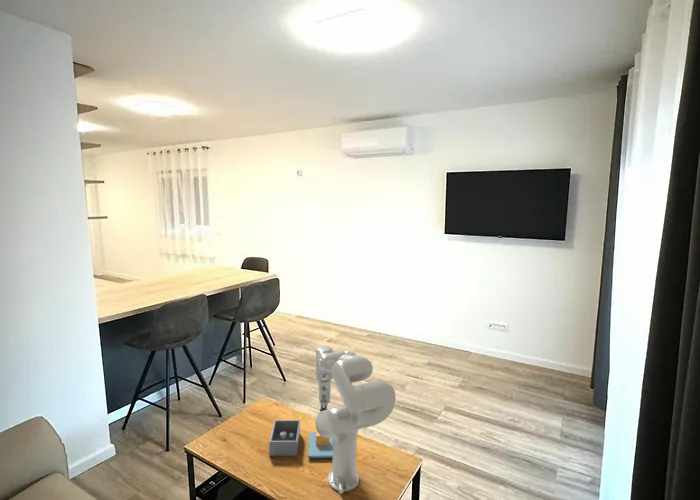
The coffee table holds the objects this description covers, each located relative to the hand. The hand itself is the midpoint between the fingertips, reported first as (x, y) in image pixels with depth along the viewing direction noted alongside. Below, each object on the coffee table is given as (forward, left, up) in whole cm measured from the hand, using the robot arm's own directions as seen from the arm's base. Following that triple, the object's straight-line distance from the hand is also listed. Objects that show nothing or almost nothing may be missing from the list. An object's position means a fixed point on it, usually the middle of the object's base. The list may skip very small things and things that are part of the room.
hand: (323, 411), depth 170 cm
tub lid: (+1, 0, -18) cm, 18 cm away
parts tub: (+3, +17, -18) cm, 25 cm away
